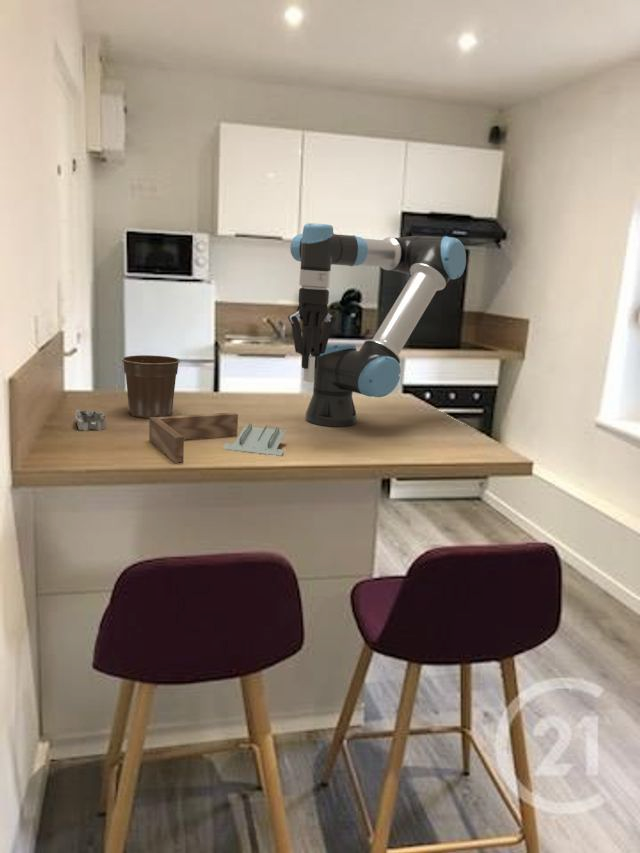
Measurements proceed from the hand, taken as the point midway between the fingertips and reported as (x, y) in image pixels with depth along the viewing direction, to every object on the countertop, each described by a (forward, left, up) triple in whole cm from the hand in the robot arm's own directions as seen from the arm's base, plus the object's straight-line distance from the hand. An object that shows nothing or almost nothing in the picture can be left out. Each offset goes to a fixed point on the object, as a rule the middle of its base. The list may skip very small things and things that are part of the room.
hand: (308, 380), depth 177 cm
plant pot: (+29, -40, -16) cm, 52 cm away
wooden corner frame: (+27, -2, -16) cm, 32 cm away
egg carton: (+48, -31, -17) cm, 60 cm away
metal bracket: (+14, +1, -17) cm, 22 cm away
